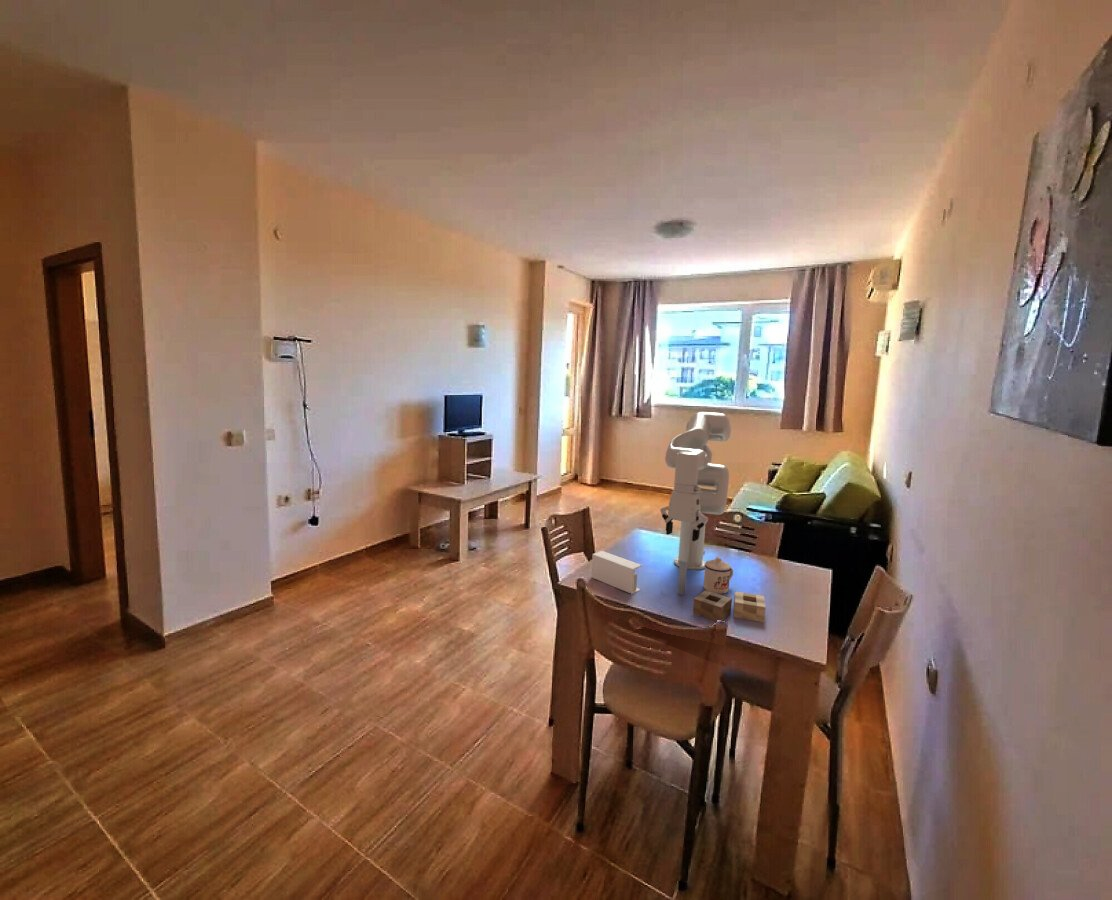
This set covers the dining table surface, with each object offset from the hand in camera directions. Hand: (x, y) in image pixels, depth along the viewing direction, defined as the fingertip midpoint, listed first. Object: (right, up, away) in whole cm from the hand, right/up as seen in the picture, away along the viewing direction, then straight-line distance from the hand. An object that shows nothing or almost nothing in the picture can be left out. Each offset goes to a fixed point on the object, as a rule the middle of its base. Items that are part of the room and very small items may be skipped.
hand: (681, 536), depth 176 cm
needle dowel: (+1, -20, +3) cm, 21 cm away
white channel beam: (-22, -19, +10) cm, 31 cm away
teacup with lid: (+16, -20, +9) cm, 27 cm away
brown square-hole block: (+7, -23, -11) cm, 26 cm away
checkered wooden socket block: (+19, -23, -10) cm, 32 cm away
